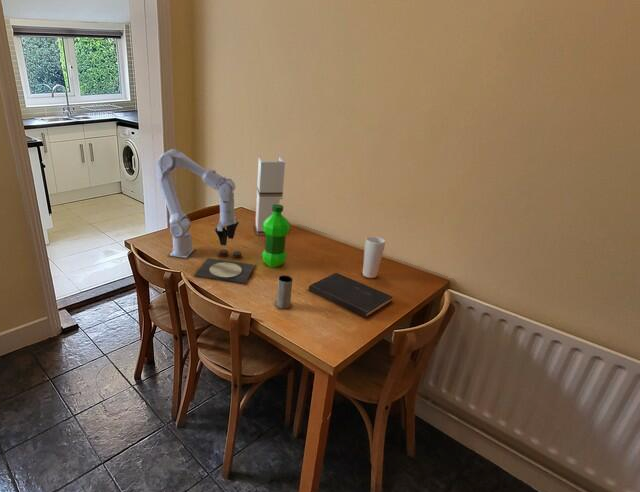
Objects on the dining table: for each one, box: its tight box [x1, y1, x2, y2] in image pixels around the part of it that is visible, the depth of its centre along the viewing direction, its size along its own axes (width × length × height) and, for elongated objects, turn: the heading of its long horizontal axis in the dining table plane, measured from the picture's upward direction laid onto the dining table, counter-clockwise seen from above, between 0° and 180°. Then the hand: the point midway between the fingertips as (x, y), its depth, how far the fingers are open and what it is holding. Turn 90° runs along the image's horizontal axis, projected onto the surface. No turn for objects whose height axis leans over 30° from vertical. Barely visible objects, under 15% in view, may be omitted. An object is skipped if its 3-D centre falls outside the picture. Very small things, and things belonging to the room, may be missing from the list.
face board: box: [194, 258, 256, 285], centre depth 163 cm, size 16×20×1 cm
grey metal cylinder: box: [276, 275, 293, 309], centre depth 137 cm, size 4×4×10 cm
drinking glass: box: [362, 236, 386, 279], centre depth 156 cm, size 7×7×15 cm
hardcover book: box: [308, 272, 393, 319], centre depth 144 cm, size 16×23×2 cm
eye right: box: [232, 250, 243, 260], centre depth 174 cm, size 4×4×2 cm
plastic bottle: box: [261, 204, 291, 268], centre depth 163 cm, size 10×10×25 cm
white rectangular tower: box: [254, 156, 286, 236], centre depth 194 cm, size 11×11×35 cm
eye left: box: [219, 249, 229, 258], centre depth 176 cm, size 4×4×2 cm
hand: (227, 241), depth 170 cm, fingers open, 7 cm apart
